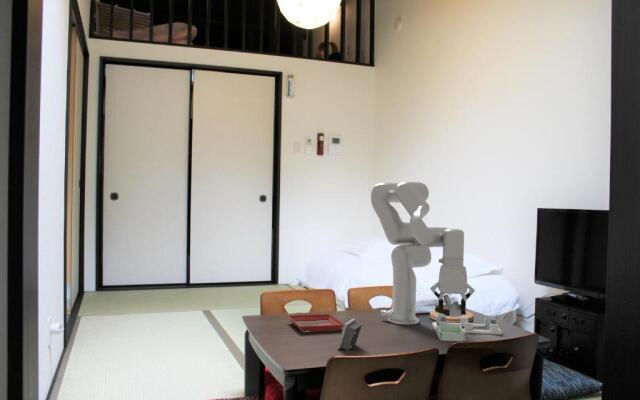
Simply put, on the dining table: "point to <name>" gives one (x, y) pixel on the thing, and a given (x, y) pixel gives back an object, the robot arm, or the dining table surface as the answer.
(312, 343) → the dining table surface
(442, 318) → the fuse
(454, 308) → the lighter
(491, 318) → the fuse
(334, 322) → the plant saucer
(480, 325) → the fuse panel
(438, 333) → the tray
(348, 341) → the electrical switch
